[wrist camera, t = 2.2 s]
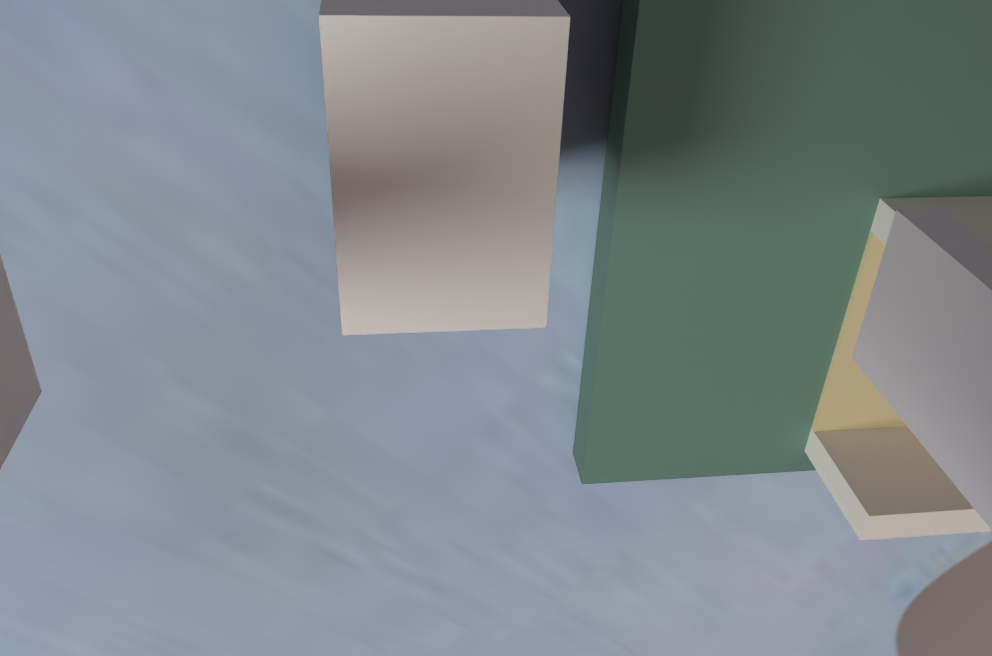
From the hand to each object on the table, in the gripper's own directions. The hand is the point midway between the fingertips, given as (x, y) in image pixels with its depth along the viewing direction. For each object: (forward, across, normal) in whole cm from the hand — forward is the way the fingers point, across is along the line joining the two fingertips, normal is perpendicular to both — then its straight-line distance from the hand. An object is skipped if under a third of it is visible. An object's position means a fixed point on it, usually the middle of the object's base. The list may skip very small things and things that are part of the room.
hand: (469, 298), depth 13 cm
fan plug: (+11, 0, 0) cm, 11 cm away
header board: (+11, +12, -4) cm, 17 cm away
